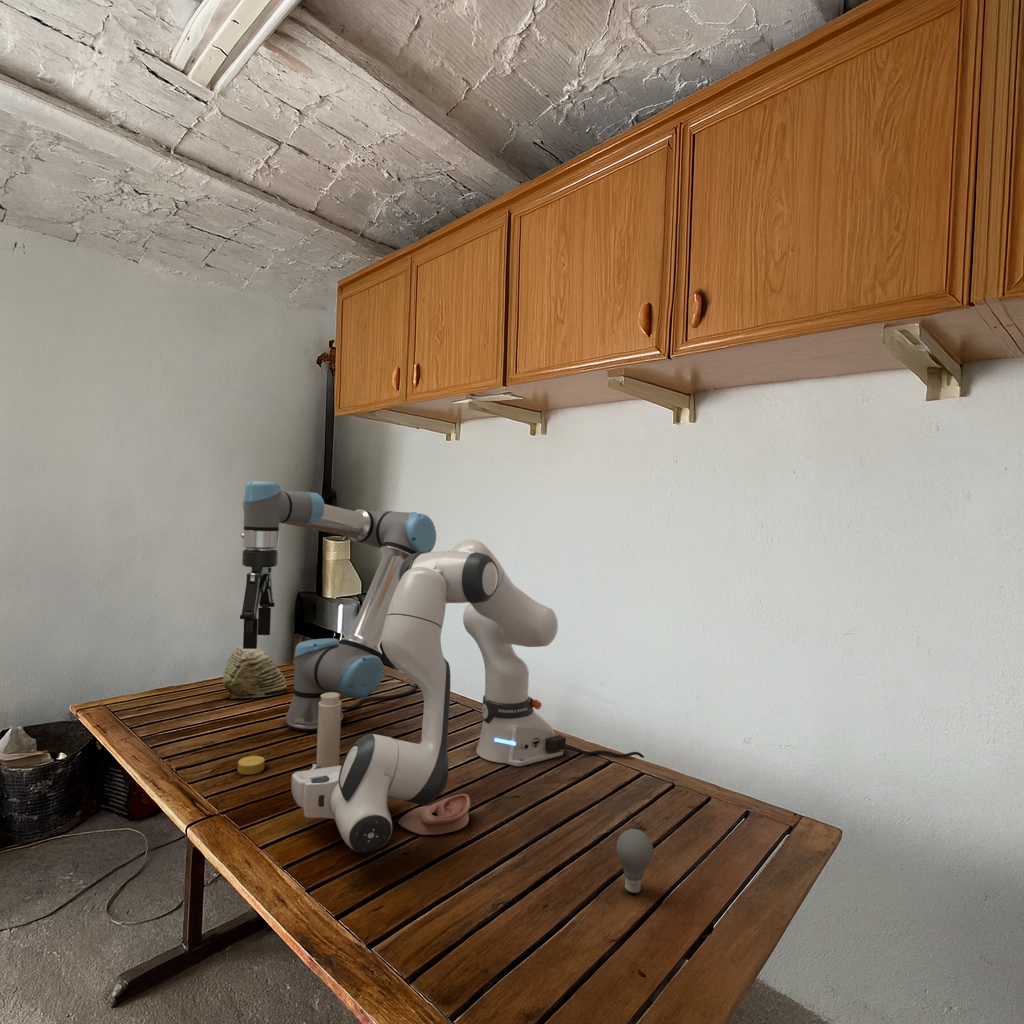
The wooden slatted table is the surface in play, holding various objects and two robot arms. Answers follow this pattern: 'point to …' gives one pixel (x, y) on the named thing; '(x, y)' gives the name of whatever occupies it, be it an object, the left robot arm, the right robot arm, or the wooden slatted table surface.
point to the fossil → (252, 674)
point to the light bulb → (634, 857)
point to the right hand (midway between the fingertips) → (339, 763)
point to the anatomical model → (438, 816)
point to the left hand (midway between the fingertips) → (257, 641)
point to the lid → (251, 765)
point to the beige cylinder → (329, 730)
